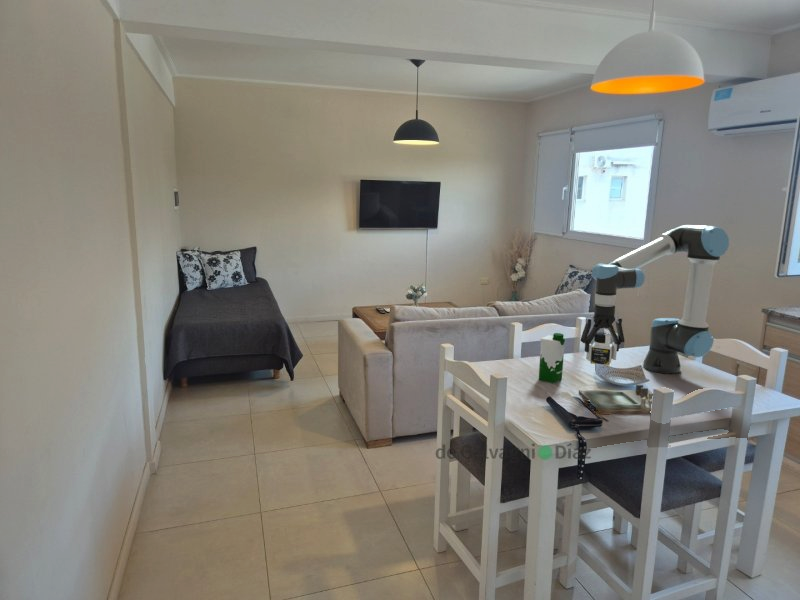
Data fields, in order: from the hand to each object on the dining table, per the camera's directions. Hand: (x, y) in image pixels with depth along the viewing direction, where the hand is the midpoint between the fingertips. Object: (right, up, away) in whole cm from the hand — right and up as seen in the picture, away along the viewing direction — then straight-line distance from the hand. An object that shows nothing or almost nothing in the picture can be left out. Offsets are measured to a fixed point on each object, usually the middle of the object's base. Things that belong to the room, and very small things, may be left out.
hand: (601, 359), depth 215 cm
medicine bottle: (0, -1, 0) cm, 1 cm away
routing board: (+4, -15, -13) cm, 20 cm away
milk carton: (-17, -10, +11) cm, 23 cm away
